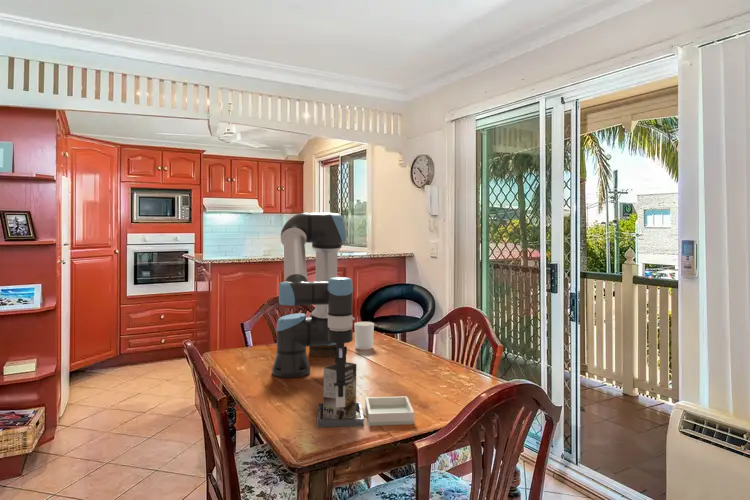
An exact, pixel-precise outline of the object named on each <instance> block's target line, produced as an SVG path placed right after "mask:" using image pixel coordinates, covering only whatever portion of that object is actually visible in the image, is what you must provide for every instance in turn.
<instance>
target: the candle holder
mask: <svg viewBox="0 0 750 500" xmlns="http://www.w3.org/2000/svg"><path fill="white" fill-rule="evenodd" d="M353 323H354V324H353V325H354V340H355V349H357V350H360V351H362V350H363V351H369V350H371V349H373V347H374V335H375V333H374V332H375V331H374V329H375V323H374V322H372V321H357V322H356V321H355V322H353Z"/></svg>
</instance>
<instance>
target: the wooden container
mask: <svg viewBox="0 0 750 500" xmlns="http://www.w3.org/2000/svg"><path fill="white" fill-rule="evenodd" d="M309 314H310V315H309V317H311V313H309ZM334 346H336V345H330V346H328V345H323V346H308V349H309V351H308V353H309V355H312V356H314V357H323V358H326V357H327V358H329V357H335V355H334Z"/></svg>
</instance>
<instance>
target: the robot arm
mask: <svg viewBox="0 0 750 500" xmlns="http://www.w3.org/2000/svg"><path fill="white" fill-rule="evenodd" d="M346 237H347V236H346V227H345V221H344V217H343V216H342V215H341V214H340V213H335V212H300V213H297V214H295V215H293V216H292V217H290V218H289V219H288V220H287V221H286V222H285V223H284V225H283V226H282V229H281V231H280V242H281V244H282V246H283V273H284V275H283V276H284V278H283V279H284V281H280V282H279V283H278V303H279V305H281V306H290V307H292V306H293V307H294V306H312V305H313V306H314V307H315V308H314V309H313V310H312V311H311V313H310V314H311V317H310V316H307V315H306V313H303V312H302V313H300V312H298V313H291V314H287V315H283V316H280V317H279V318H278V319H277V321H276V329H275V331H276V355H275V359H274V362H273V364H272V370H271V371H272V373H271V374H272V375H273V376H274V377H277V378H285V379H293V378H295V379H296V378H300V377H304V376H307V375H309V374H310V373H311V364H310V361H309V358H308V355H307V347H309V346H323V345H328V346H330V345H336V346H334V355H335V356H334V364H335V363H336V383H334V386H336V407H345V363H346V362H347V354H348V348H347V345H345V344H347V343H348V344H349V343H351V342H353V339H354V336H353V335H354V334H353V333H354V332H353V329H352V328H353V321H355V317H353V304H354V303H353V299H354V298H353V297H354V296H353V293H354V287H353V285H354V283H353V279H352V278H350V277H348V276H347V277H345V276H342V277H341V276H339V277H338V254H339V253H338V252H339V250H340V249H342V244H344V243H346V241H347V238H346ZM309 243H311V248H313V250H314V251H315V280H311V281H308V270H307V257H306V247H305V246H306V244H309Z"/></svg>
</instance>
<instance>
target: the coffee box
mask: <svg viewBox="0 0 750 500" xmlns="http://www.w3.org/2000/svg"><path fill="white" fill-rule="evenodd" d="M357 365H358V364H357V363H354V362H347V361H346V363H345V407H336V386H334V383H336V363H335V362H334V363H333V364H331V365H328V366H325V367H323V403H324V404H323V405H324V406H323V410H322V411H323V419H348V418H353V417H354V416H356V415H357V409H356V402H357Z"/></svg>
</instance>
